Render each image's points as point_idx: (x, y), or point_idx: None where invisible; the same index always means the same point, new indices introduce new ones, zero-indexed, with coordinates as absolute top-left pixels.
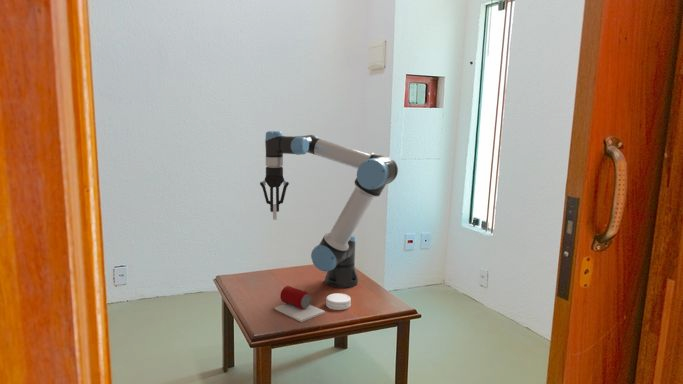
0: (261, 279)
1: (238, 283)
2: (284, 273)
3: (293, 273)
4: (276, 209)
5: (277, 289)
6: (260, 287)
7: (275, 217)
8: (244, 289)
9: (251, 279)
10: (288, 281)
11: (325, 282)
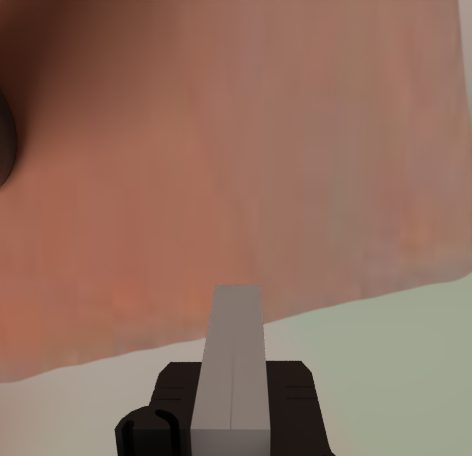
0: (305, 207)
1: (412, 167)
2: (200, 273)
3: (160, 268)
4: (201, 367)
5: (238, 66)
6: (315, 102)
7: (228, 298)
8: (390, 83)
9: (350, 212)
10: (184, 168)
11: (13, 123)
